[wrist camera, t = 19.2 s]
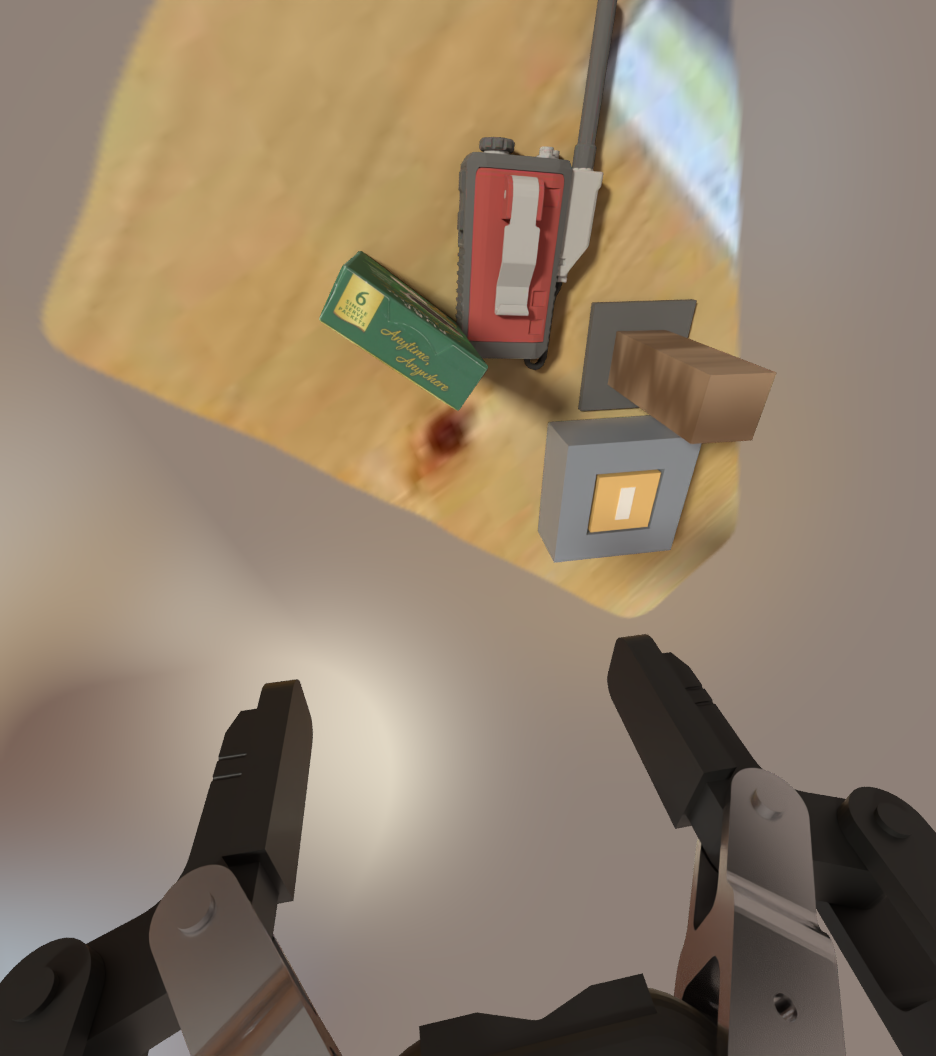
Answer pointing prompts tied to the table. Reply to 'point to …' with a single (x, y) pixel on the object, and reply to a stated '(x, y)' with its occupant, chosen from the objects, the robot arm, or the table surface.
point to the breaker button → (623, 500)
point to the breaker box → (601, 451)
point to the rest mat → (602, 339)
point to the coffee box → (402, 330)
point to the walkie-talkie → (527, 226)
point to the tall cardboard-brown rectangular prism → (690, 385)
